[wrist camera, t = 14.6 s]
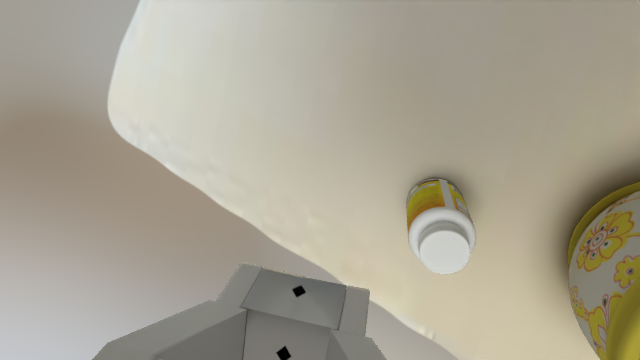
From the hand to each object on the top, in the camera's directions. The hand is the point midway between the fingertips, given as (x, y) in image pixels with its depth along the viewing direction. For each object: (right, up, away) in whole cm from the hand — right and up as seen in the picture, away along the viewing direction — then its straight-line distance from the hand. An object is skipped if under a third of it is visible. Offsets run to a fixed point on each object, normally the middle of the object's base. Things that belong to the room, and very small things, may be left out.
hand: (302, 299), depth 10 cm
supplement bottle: (+12, +1, +34) cm, 36 cm away
